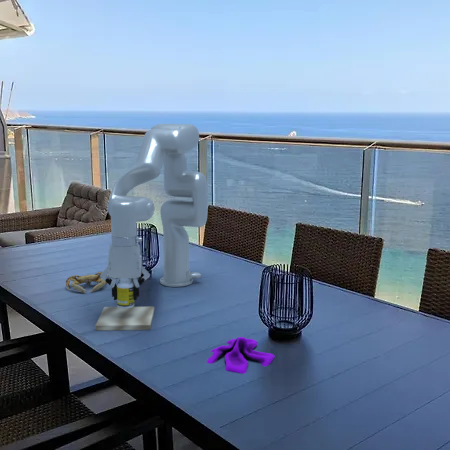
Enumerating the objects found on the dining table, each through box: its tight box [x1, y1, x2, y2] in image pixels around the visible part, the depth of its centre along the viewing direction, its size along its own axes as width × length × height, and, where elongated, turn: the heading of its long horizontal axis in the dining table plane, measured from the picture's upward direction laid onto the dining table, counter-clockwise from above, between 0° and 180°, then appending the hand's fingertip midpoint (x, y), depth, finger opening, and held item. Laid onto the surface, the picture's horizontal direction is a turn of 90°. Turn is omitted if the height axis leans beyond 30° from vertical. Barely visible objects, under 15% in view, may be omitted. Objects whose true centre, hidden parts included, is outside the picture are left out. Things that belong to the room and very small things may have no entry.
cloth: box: [205, 336, 276, 375], centre depth 141 cm, size 22×19×6 cm
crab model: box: [65, 271, 108, 294], centre depth 197 cm, size 16×13×6 cm
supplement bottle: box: [116, 278, 136, 309], centre depth 164 cm, size 5×5×10 cm
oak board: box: [94, 306, 155, 331], centre depth 166 cm, size 16×16×2 cm
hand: (125, 298), depth 165 cm, fingers closed on supplement bottle, 5 cm apart
